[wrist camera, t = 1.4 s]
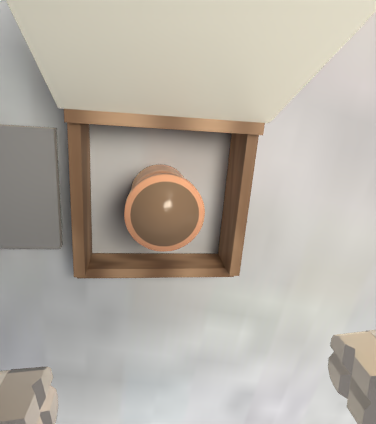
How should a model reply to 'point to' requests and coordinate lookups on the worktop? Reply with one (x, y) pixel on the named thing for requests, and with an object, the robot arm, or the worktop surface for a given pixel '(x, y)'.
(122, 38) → the cold frame lid
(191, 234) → the terracotta pot
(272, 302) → the worktop surface
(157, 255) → the frame
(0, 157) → the slate tile
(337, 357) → the robot arm
